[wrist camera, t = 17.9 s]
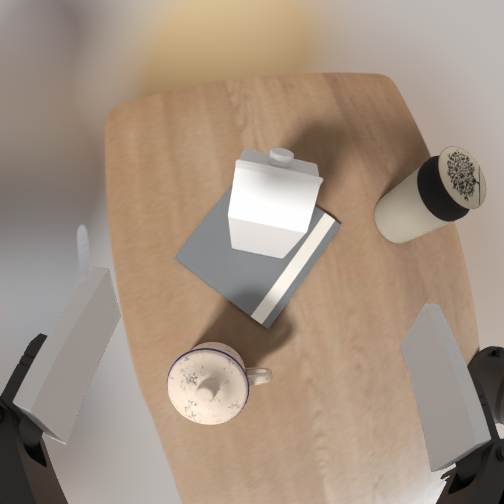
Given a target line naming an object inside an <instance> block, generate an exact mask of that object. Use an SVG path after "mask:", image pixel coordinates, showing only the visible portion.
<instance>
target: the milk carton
mask: <svg viewBox="0 0 504 504" xmlns="http://www.w3.org/2000/svg"><path fill="white" fill-rule="evenodd" d="M322 182H323V178H321V177H319V173H318V167H317V164H314V163H310V162H306V161H302V160H298V159H294V154H293V153H292V152H291V151H289V150H286V149H282V148H272V149H271V150H270V153H265V152H260V151H255V150H250V149H244V150H243V152H242V154H241V156H240V158H239V160H236V169H235V175H234V181H233V187H232V193H231V199H230V205H229V211H228V220H229V228H230V237H231V245H232V248H233V249H237V250H242V251H247V252H252V253H257V254H262V255H266V256H271V257H276V258H284V257H285V256H286V255H287V254H288V252H289V251H290V250H291V249H292V248H293V247H294V246H295V245H296V244H297V243H298V241H299V240H300V239H301V238H302V237H303V236H304V235H305V234H306V233H307V230H308V227H309V223H310V220H311V216H312V213H313V209H314V206H315V202H316V199H317V195H318V191H319V188H320V185H321V183H322Z"/></svg>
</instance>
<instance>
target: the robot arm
mask: <svg viewBox="0 0 504 504" xmlns="http://www.w3.org/2000/svg"><path fill="white" fill-rule="evenodd" d="M120 317H121V314H120V311H119V307H118V304H117V300H116V296H115V292H114V288H113V284H112V280H111V276H110V271H109V269H108V268H102V267H95V266H93V267H92V269H91V270H90V271H89V273H88V274H87V276H86V277H85V279H84V280H83V282H82V283H81V285H80V286H79V288H78V289H77V291H76V292H75V293H74V295H73V297H72V298H71V299H70V301H69V302H68V304H67V306H66V307H65V309H64V310H63V312H62V313H61V315H60V317H59V318H58V320H57V322H56V323H55V325H54V326H53V328H52V330H51V331H50V333H49V335H48V336H46V335H44V334H41V333H40V334H39V335H38V336H37V337H36V338H34V339H33V340H32V341H31V342H30V344H29V345H28V347H27V349H26V351H25V352H24V355H23V356H22V357H21V359H20V361H19V364H18V365H17V366H16V368H15V370H14V372H13V374H12V376H11V377H10V379H9V381H8V383H7V385H6V387H5V389H4V391H3V393H2V395H1V396H0V504H68V502H67V500H66V498H65V496H64V494H63V491H62V489H61V486H60V484H59V482H58V479H57V477H56V474H55V472H54V469H53V466H52V464H51V461H50V458H49V455H48V452H47V449H46V446H45V443H44V441H43V439H42V437H41V436H42V433H43V432H45V433H46V434H47V435H48V436H49V437H50V438H53V439H55V440H57V441H59V442H61V443H64V444H66V445H67V443H68V440H69V438H70V435H71V432H72V429H73V427H74V424H75V421H76V419H77V416H78V413H79V411H80V408H81V405H82V403H83V400H84V398H85V396H86V393H87V391H88V388H89V386H90V383H91V381H92V379H93V376H94V374H95V371H96V369H97V367H98V365H99V362H100V360H101V358H102V356H103V353H104V351H105V349H106V347H107V344H108V342H109V340H110V338H111V336H112V334H113V332H114V330H115V327H116V325H117V323H118V321H119V319H120ZM400 346H401V349H402V352H403V356H404V359H405V362H406V366H407V369H408V373H409V376H410V380H411V383H412V387H413V391H414V394H415V398H416V402H417V406H418V410H419V414H420V419H421V423H422V427H423V432H424V437H425V441H426V446H427V451H428V457H429V462H430V468H431V472H434V471H438V470H441V469H445V468H447V467H449V466H451V465H452V464H454V463H456V467H455V468H453V469H451V470H449V471H447V472H446V473H444V474H443V475H442V477H441V479H444V478H445V477H447V476H449V475H450V476H449V477H448V478H447V479H446V480H445V481H446V482H447V483H446V485H445V487H444V489H443V491H442V493H441V495H440V497H439V499H438V501H437V502H436V504H504V439H500V438H499V435H498V432H497V429H496V426H495V423H501V424H504V348H502V347H495V346H490V347H487V348H485V349H483V350H481V351H480V352H479V353H478V354H477V355H476V356H475V357H474V358H473V360H472V361H471V363H470V364H469V366H468V368H467V366H466V363H465V361H464V359H463V356H462V354H461V351H460V349H459V347H458V344H457V342H456V340H455V338H454V335H453V333H452V331H451V329H450V327H449V325H448V322H447V320H446V318H445V316H444V314H443V312H442V310H441V308H440V306H439V304H430V303H425V304H424V306H423V308H422V310H421V311H420V313H419V315H418V317H417V318H416V320H415V322H414V323H413V325H412V327H411V328H410V330H409V331H408V333H407V335H406V336H405V338H404V339H403V341H402V342H401V344H400Z"/></svg>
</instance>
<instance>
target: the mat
mask: <svg viewBox="0 0 504 504" xmlns="http://www.w3.org/2000/svg"><path fill="white" fill-rule="evenodd" d="M232 187H233V184H232V186H231V187H230V188H229V189H228V190H227V192H226V193H225V194H224V195H223V196H222V198H221V199H220V200H219V201H218V203H217V204H216V205H215V206H214V207H213V209H212V210H211V211H210V212H209V214H208V215H207V216H206V217H205V219H204V220H203V221H202V222H201V224H200V225H199V226H198V227H197V229H196V230H195V231H194V232H193V234H192V235H191V236H190V237H189V239H188V240H187V241H186V243H185V244H184V245H183V246H182V248H181V249H180V250H179V252H178V253H177V254H176V256H175V257H174V259H176V260H177V261H178V262H179V263H181V264H182V265H183V266H184V267H186V268H187V269H188V270H190V271H191V272H192V273H193V274H195V275H196V276H197V277H199V278H200V279H201V280H202V281H204V282H205V283H206V284H208V285H209V286H210V287H212V288H213V289H214V290H216V291H217V292H218V293H220V294H221V295H222V296H224V297H225V298H226V299H228V300H229V301H230V302H232V303H233V304H234V305H236V306H237V307H238V308H240V309H241V310H242V311H244V312H245V313H246V314H248V315H249V316H251V317H252V318H253V319H255V320H256V321H257V322H259V323H260V324H262V325H263V326H264V327H266V328H267V329H269V327H270V326H271V325H272V323H273V322H274V321H275V319H276V318H277V317H278V315H279V314H280V312H281V311H282V310H283V308H284V307H285V306H286V304H287V303H288V301H289V300H290V299H291V297H292V296H293V294H294V293H295V292H296V290H297V289H298V287H299V286H300V284H301V283H302V282H303V280H304V279H305V277H306V276H307V274H308V273H309V272H310V270H311V269H312V267H313V266H314V264H315V263H316V261H317V260H318V258H319V257H320V256H321V254H322V253H323V251H324V250H325V248H326V247H327V245H328V244H329V242H330V241H331V239H332V238H333V236H334V235H335V233H336V232H337V230H338V229H339V227H340V226H341V225H340V224H339V223H338V222H336V221H335V220H334V219H333V218H332V217H330V216H329V215H328V214H326V213H324V212H323V211H322V210H320V209H319V208H318V207H316V206H314V209H313V213H312V216H311V220H310V223H309V227H308V230H307V233H306V234H305V235H304V236H303V237H302V238H301V239H300V240H299V241H298V243H297V244H296V245H295V246H294V247H293V248H292V249H291V250H290V251H289V252H288V254H287V255H286V256H285V257H284V258H276V257H271V256H266V255H262V254H257V253H252V252H247V251H242V250H237V249H233V248H232V245H231V237H230V228H229V220H228V211H229V205H230V199H231V193H232Z"/></svg>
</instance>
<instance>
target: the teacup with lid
mask: <svg viewBox="0 0 504 504" xmlns="http://www.w3.org/2000/svg"><path fill="white" fill-rule="evenodd" d="M272 377H273V376H272V371H271V370H270V369H267V368H261V367H255V368H245V366H244V363H243V360H242V359H241V357H240V355H239V354H238V353H237V352H236V351H235V350H234V349H232V348H231V347H229V346H228V345H225V344H223V343H219V342H206V343H202V344H200V345H197V346H196V347H194V348H193V349H192V350H191V351H189V352H187V353H185V354H183V355H182V356H181V357H179V358H178V359H177V360H176V361H175V363H174V364H173V365H172V367H171V369H170V371H169V374H168V379H167V389H168V394H169V397H170V399H171V401H172V403H173V405H174V406H175V408H176V409H177V410H178V411H179V412H180V413H181V414H182V415H183V416H185V417H186V418H188V419H190V420H192V421H194V422H197V423H201V424H219V423H223V422H226V421H228V420H230V419H232V418H233V417H235V416H236V415H237V414H238V413H239V412H240V411H241V410H242V409H243V407H244V406H245V404H246V402H247V399H248V395H249V386H250V385H258V384H263V383H266V382H269V381H270V380H271V379H272Z"/></svg>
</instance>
